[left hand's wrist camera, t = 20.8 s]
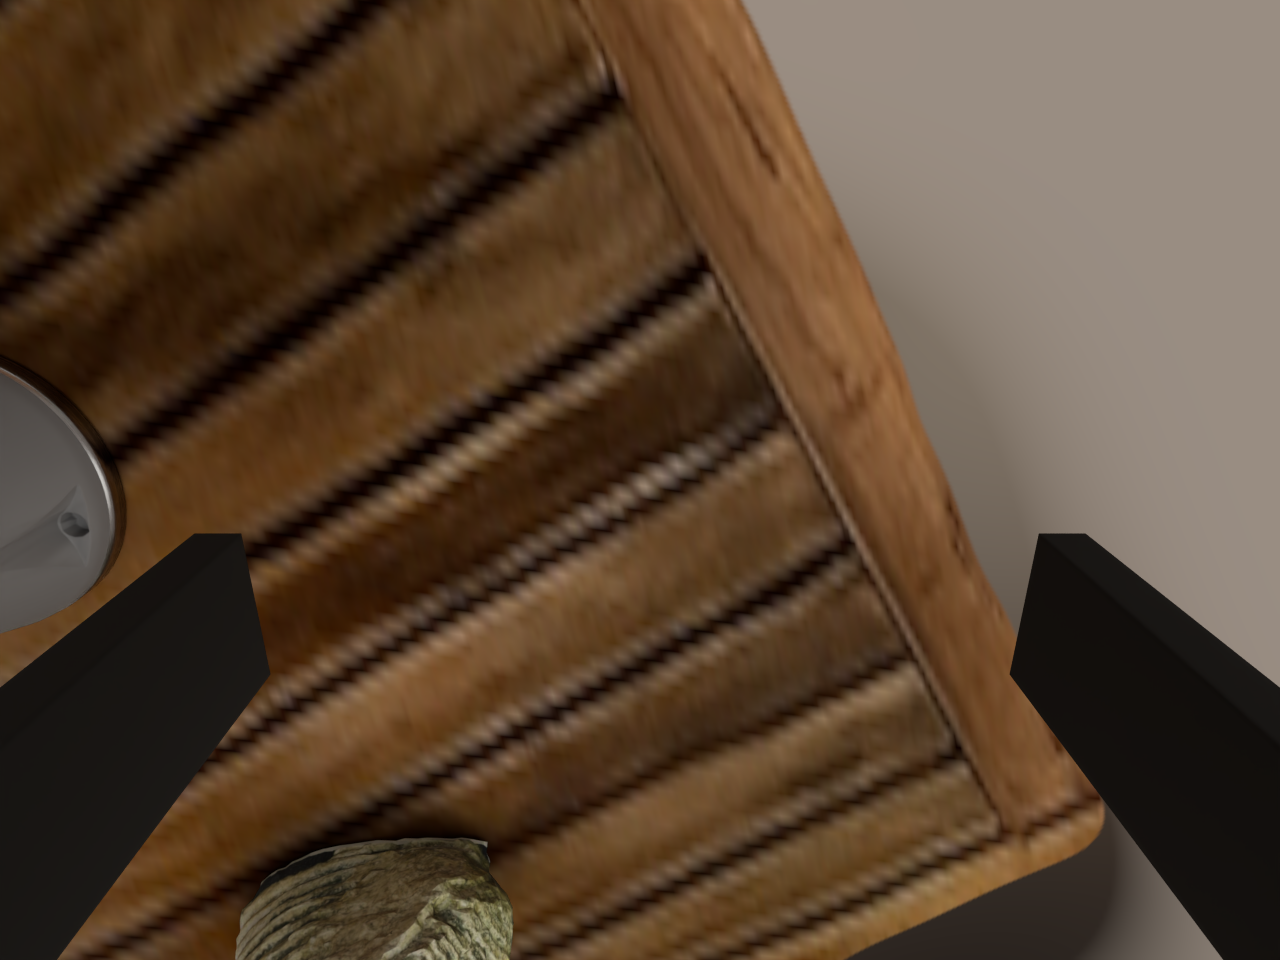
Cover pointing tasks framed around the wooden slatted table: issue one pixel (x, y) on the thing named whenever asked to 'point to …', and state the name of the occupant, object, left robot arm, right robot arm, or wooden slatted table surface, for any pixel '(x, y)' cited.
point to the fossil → (381, 905)
